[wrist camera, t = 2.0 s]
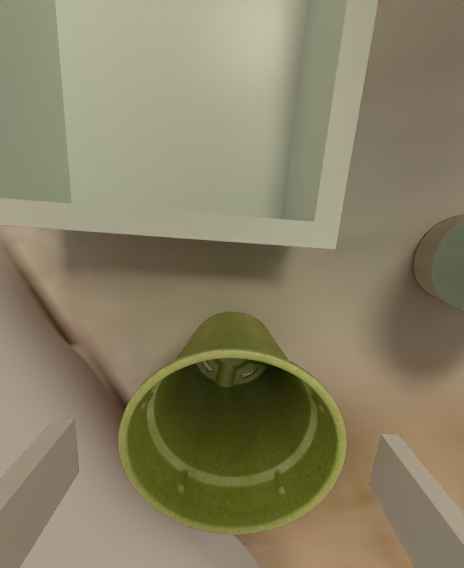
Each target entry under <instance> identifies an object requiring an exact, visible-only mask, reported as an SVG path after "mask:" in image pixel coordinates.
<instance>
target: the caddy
mask: <svg viewBox="0 0 464 568" xmlns="http://www.w3.org/2000/svg"><path fill="white" fill-rule="evenodd" d="M378 1H379V0H0V225H5V226H19V227H33V228H47V229H61V230H74V231H88V232H102V233H116V234H130V235H143V236H157V237H171V238H185V239H199V240H212V241H226V242H240V243H254V244H268V245H281V246H295V247H309V248H323V249H336V244H337V238H338V232H339V226H340V221H341V215H342V209H343V203H344V197H345V192H346V186H347V180H348V174H349V168H350V163H351V157H352V151H353V145H354V140H355V134H356V128H357V122H358V116H359V111H360V105H361V99H362V93H363V87H364V82H365V76H366V70H367V64H368V59H369V53H370V47H371V41H372V35H373V30H374V24H375V18H376V12H377V7H378Z"/></svg>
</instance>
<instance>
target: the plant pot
mask: <svg viewBox="0 0 464 568" xmlns="http://www.w3.org/2000/svg"><path fill="white" fill-rule="evenodd" d="M206 360H207V362H208V364H209V365H210V366H211V367H212V368H213V371H209V370H208V369H206V368H205V366H204V365H203V363H202V361H206ZM255 367H256V368H257V371H255V372H254V373H253V374H251V375H249V376H247V377H242V374H244V373H247V372H250V371H251V370H253V369H254V368H255ZM118 445H119V455H120V459H121V462H122V466H123V469H124V471H125V473H126V475H127V477H128V479H129V481H130V482H131V484H132V486H133V487H134V488H135V490H136V491H137V492H138V493H139V494H140V495H141V496H142V498H143V499H144V500H145V501H147V502H148V503H149V504H150V505H151V506H152V507H153V508H154V509H156V510H157V511H158V512H159V513H161V514H163V515H164V516H166V517H168V518H169V519H171V520H174V521H177V522H178V523H180V524H183V525H186V526H188V527H191V528H194V529H198V530H203V531H208V532H211V533H217V534H229V535H230V534H248V533H257V532H262V531H265V530H270V529H275V528H278V527H281V526H284V525H286V524H288V523H291V522H292V521H294V520H296V519H299V518H300V517H302V516H304V515H305V514H307V513H308V512H309V511H311V510H312V509H313V508H314V507H315V506H316V505H317V504H319V503H320V502H321V501H322V500H323V499H324V497H325V496H326V495H327V494H328V493H329V492H330V490H331V489H332V487H333V485H334V484H335V482H336V480H337V479H338V477H339V475H340V472H341V470H342V467H343V464H344V460H345V455H346V447H347V439H346V430H345V426H344V422H343V419H342V416H341V414H340V411H339V409H338V407H337V405H336V404H335V402H334V400H333V399H332V397H331V396H330V394H329V393H328V391H327V390H326V389H325V388H324V387H323V385H322V384H321V383H320V382H319V381H318V380H317V379H315V378H314V377H313V376H312V375H311V374H309V373H308V372H307V371H305V370H304V369H303V368H301V367H299V366H298V365H296V364H294V363H292V362H290V361H289V360H288V359H287V357H286V356H285V355H284V353H283V352H282V350H281V349H280V347H279V346H278V345H277V343H276V342H275V340H274V339H273V337H272V336H271V334H270V333H269V331H268V330H267V329H266V327H265V326H264V325H263V324H262V323H261V322H260V321H259V320H257V319H256V318H254V317H252V316H249V315H245V314H241V313H235V312H225V313H221V314H217V315H215V316H213V317H211V318H209V319H208V320H206V321H205V322H204V323H203V324H202V325H201V326H200V327H199V328H198V330H197V331H196V332H195V334H194V335H193V337H192V338H191V339H190V341H189V342H188V344H187V345H186V346H185V348H184V349H183V351H182V352H181V353H180V355H179V356H178V358H177V359H176V360H175V361H173V362H171V363H169V364H167V365H166V366H164V367H163V368H161V369H160V370H158V371H157V372H155V373H154V374H153V375H152V376H151V377H149V378H148V379H147V380H146V381H145V382H144V383H143V384H142V385H141V387H140V388H139V389H138V390H137V391H136V393H135V394H134V396H133V397H132V398H131V400H130V402H129V403H128V405H127V407H126V409H125V412H124V414H123V417H122V420H121V424H120V429H119V436H118Z"/></svg>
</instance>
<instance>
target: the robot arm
mask: <svg viewBox="0 0 464 568" xmlns="http://www.w3.org/2000/svg"><path fill="white" fill-rule="evenodd" d="M78 472H79V466H78V454H77V443H76V431H75V419H68V418H55V420H54V421H53V422H52V423H51V424H50V425H49V426H48V427H47V428H46V429H45V430H44V431H43V433H42V434H41V435H40V436H39V437H38V438H37V439H36V440H35V441H34V443H33V444H32V445H31V446H30V447H29V448H28V449H27V450H26V451H25V452H24V453H23V455H22V456H21V457H20V458H19V459H18V460H17V461H16V462H15V463H14V464H13V465H12V467H11V468H10V469H9V470H8V471H7V472H6V473H5V474H4V475H3V476H2V478H1V479H0V568H20V566H21V565H22V563H23V562H24V560H25V558H26V557H27V555H28V553H29V552H30V550H31V548H32V547H33V545H34V544H35V542H36V540H37V539H38V537H39V536H40V534H41V532H42V531H43V529H44V527H45V526H46V524H47V523H48V521H49V519H50V518H51V516H52V514H53V513H54V511H55V510H56V508H57V506H58V504H59V503H60V502H61V500H62V498H63V497H64V495H65V493H66V492H67V490H68V489H69V487H70V485H71V484H72V482H73V480H74V479H75V477H76V476H77V474H78ZM369 485H370V487H371V489H372V491H373V493H374V494H375V496H376V498H377V500H378V502H379V504H380V505H381V507H382V509H383V511H384V513H385V514H386V516H387V518H388V520H389V522H390V524H391V525H392V527H393V529H394V531H395V533H396V535H397V536H398V538H399V540H400V542H401V544H402V545H403V547H404V549H405V551H406V553H407V555H408V556H409V558H410V560H411V562H412V564H413V566H414V567H415V568H464V514H463V513H462V511H461V510H460V509H459V508H458V507H457V505H456V504H455V503H454V502H453V500H452V499H451V498H450V497H449V496H448V494H447V493H446V492H445V491H444V490H443V488H442V487H441V486H440V485H439V483H438V482H437V481H436V480H435V479H434V477H433V476H432V475H431V474H430V473H429V471H428V470H427V469H426V468H425V466H424V465H423V464H422V463H421V462H420V460H419V459H418V458H417V457H416V456H415V454H414V453H413V452H412V451H411V449H410V448H409V447H408V446H407V445H406V443H405V442H404V441H403V440H402V439H401V437H400V436H399V435H389V434H381V438H380V442H379V446H378V450H377V454H376V458H375V462H374V466H373V470H372V474H371V478H370V482H369Z"/></svg>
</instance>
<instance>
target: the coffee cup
mask: <svg viewBox="0 0 464 568" xmlns="http://www.w3.org/2000/svg"><path fill="white" fill-rule="evenodd" d="M414 273H415V277H416V280H417V282H418V284H419V285H420V286H421V288H422V289H423V290H424V291H425V292H427V293H428V294H430V295H432V296H434V297H436V298H438V299H440V300H441V301H443V302H445V303H447V304H449V305H451V306H453V307H455V308H457V309H459V310H461V311H463V312H464V215H459V216H454V217H451V218H448V219H446V220H444V221H442V222H440V223H439V224H437V225H436V226H435V227H433V228H432V229H431V230H430V231H429V232H428V233H427V234H426V235H425V237H424V238H423V239H422V241H421V243H420V244H419V246H418V248H417V251H416V254H415V258H414Z"/></svg>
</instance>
